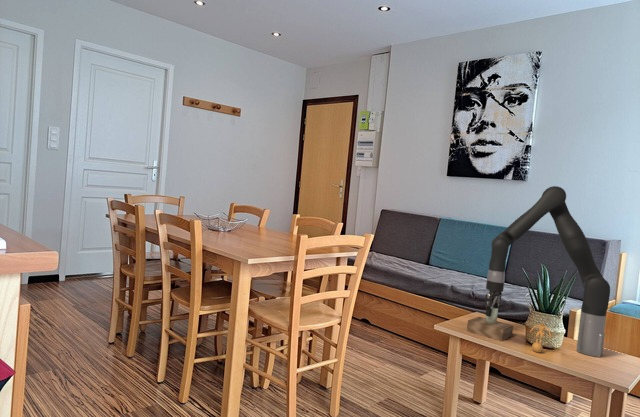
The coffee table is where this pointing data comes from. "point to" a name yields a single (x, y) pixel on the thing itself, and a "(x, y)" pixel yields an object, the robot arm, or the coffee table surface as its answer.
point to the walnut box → (490, 328)
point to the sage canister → (492, 316)
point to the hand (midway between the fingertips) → (491, 315)
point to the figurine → (537, 346)
